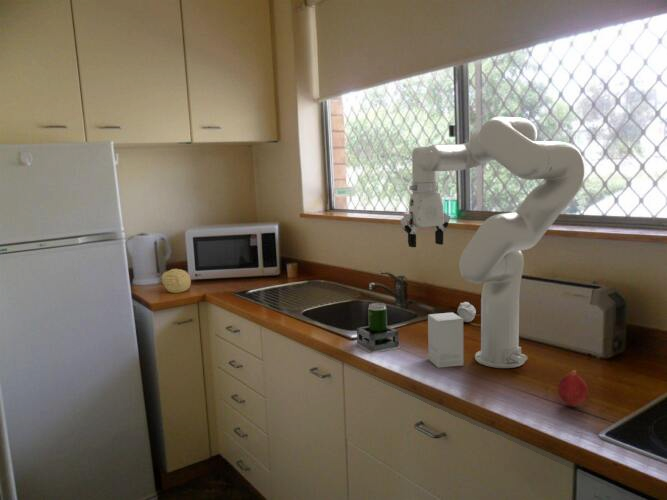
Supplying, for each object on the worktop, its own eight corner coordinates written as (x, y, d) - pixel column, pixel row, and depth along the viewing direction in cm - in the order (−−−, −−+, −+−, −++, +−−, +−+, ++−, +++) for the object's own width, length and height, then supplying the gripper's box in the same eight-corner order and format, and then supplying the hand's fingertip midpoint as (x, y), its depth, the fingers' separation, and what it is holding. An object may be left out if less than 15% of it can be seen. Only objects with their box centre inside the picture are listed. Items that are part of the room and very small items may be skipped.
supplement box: (464, 365, 139) (464, 318, 137) (437, 368, 137) (436, 320, 136) (453, 356, 146) (453, 311, 144) (427, 358, 145) (427, 313, 143)
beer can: (377, 348, 153) (376, 307, 152) (365, 344, 158) (364, 304, 156) (391, 344, 156) (390, 304, 155) (379, 340, 161) (378, 301, 159)
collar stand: (400, 347, 155) (399, 331, 154) (371, 353, 151) (370, 336, 150) (383, 339, 163) (383, 323, 163) (355, 344, 159) (355, 327, 159)
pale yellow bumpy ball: (159, 293, 241) (157, 270, 240) (176, 288, 252) (174, 265, 251) (179, 295, 237) (177, 271, 235) (196, 289, 248) (194, 266, 246)
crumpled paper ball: (453, 323, 178) (453, 302, 177) (462, 318, 183) (462, 298, 182) (471, 325, 174) (471, 305, 173) (479, 320, 180) (479, 300, 179)
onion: (557, 410, 111) (558, 373, 110) (556, 399, 117) (557, 364, 115) (588, 413, 109) (589, 376, 108) (586, 402, 114) (587, 366, 113)
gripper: (407, 190, 152) (408, 249, 154) (456, 187, 159) (456, 244, 161) (393, 189, 159) (394, 246, 161) (441, 187, 166) (442, 242, 168)
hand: (425, 245), depth 161 cm, fingers open, 9 cm apart
